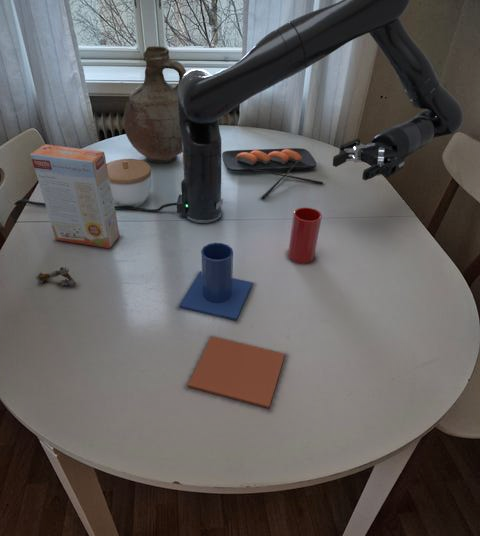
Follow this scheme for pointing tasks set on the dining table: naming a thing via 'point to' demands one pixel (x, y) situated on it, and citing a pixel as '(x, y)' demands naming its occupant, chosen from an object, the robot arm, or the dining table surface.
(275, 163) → the sushi plate
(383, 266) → the dining table surface
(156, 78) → the jug
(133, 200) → the lidded bowl
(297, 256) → the red cup
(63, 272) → the chicken wing bone
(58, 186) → the cracker box
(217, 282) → the blue cup
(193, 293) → the blue mat
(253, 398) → the terracotta mat
